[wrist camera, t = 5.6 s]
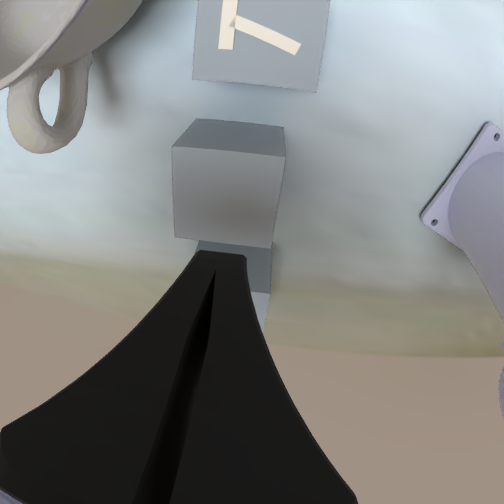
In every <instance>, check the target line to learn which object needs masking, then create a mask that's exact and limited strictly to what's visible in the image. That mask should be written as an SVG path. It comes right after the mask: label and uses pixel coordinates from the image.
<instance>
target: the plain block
mask: <svg viewBox="0 0 504 504" xmlns="http://www.w3.org/2000/svg"><path fill="white" fill-rule="evenodd" d="M285 159H286V155H285V143H284V132H283V127H278V126H271V125H263V124H254V123H245V122H235V121H224V120H211V119H196V120H195V121H194V122H193V123H192V124H191V125H190V126H189V127H188V129H187V130H186V131H185V132H184V133H183V134H182V135H181V137H180V138H179V139H178V140H177V141H176V142H175V144H174V145H173V146H172V182H173V212H174V233H175V237H176V238H185V239H193V240H202V241H210V242H219V243H227V244H235V245H244V246H252V247H260V248H269V249H270V248H271V243H272V237H273V231H274V225H275V219H276V213H277V207H278V201H279V195H280V189H281V183H282V177H283V171H284V165H285Z"/></svg>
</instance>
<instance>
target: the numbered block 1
mask: <svg viewBox="0 0 504 504" xmlns="http://www.w3.org/2000/svg"><path fill="white" fill-rule="evenodd" d="M199 250H208V251H216V252H225V253H233V254H242V255H244V256H245V257H246V258H247V274H248V281H249V286H250V291H251V295H252V300H253V303H254V307H255V310H256V314H257V317H258V321H259V324H260V327H261V330H262V333H263V330H264V325H265V320H266V315H267V310H268V305H269V300H270V295H271V269H272V243H271V248H270V249H269V248H260V247H252V246H244V245H235V244H227V243H219V242H210V241H202V240H199V243H198V246H197V249H196V252H197V251H199ZM196 252H195V253H196Z"/></svg>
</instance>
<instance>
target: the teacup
mask: <svg viewBox="0 0 504 504" xmlns="http://www.w3.org/2000/svg"><path fill="white" fill-rule="evenodd" d="M142 1H143V0H0V90H2V89H4V88H6V87H9V94H8V98H7V118H8V123H9V128H10V130H11V133H12V135H13V137H14V138H15V140H16V141H17V143H18V144H19V145H20V146H22V147H23V148H24V149H26V150H27V151H30V152H32V153H39V154H43V153H51V152H53V151H56V150H58V149H60V148H62V147H64V146H66V145H67V144H68V143H69V142H70V141H71V140H72V139H73V138H75V137H76V135H77V133H78V131H79V130H80V128H81V126H82V123H83V120H84V115H85V111H86V106H87V93H88V70H89V68H90V66H91V64H92V52H93V51H94V50H95V49H97V48H98V47H99V46H101V45H102V44H103V43H105V42H106V41H107V40H109V39H110V38H111V37H112V36H113V35H114V34H115V33H116V32H117V31H119V30H120V29H121V28H122V27H123V26H124V25H125V24H126V23H127V21H128V20H129V19H130V18H131V17H132V16H133V14H134V13H135V12H136V10H137V9H138V7H139V6H140V4H141V3H142ZM58 68H59V70H60V99H59V106H58V112H57V116H56V120H55V123H54V125H53V127H52V126H50V125H48V124H47V123H46V121H45V120H44V119H43V116H42V114H41V111H40V106H39V92H40V88H41V87H42V85H43V83H44V82H45V81H46V80H47V79H48V78H49V77H50V76H51V75H52V74H53V72H54V70H55V69H58Z"/></svg>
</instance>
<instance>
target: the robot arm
mask: <svg viewBox="0 0 504 504" xmlns="http://www.w3.org/2000/svg"><path fill="white" fill-rule="evenodd" d="M495 134H496V138H494V135H495ZM434 219H436V220H435V221H434V222H432V220H434ZM421 221H422V222H423V224H424V225H426V226H427V227H429V228H430V229H432V230H433V231H435V232H436V233H438V234H439V235H441V236H442V237H444V238H445V239H447V240H448V241H450V242H451V243H453V244H454V245H456V246H457V247H458V248H460V249H461V250H463V251H464V252H465V254H466V256H467V257H468V259H469V260H470V262H471V264H472V265H473V267H474V269H475V270H476V272H477V274H478V275H479V277H480V279H481V281H482V282H483V284H484V286H485V288H486V290H487V291H488V293H489V295H490V297H491V299H492V301H493V303H494V305H495V306H496V308H497V310H498V312H499V314H500V316H501V318H502V320H503V322H504V134H503V133H502V132H501V131H500V130H499V128H498V127H497V126H496V125H494V124H493V123H490V122H489V123H487V124H486V125H485V126H484V128H483V129H482V131H481V132H480V134H479V135H478V137H477V138H476V140H475V141H474V143H473V144H472V146H471V147H470V149H469V150H468V152H467V153H466V155H465V156H464V158H463V159H462V160H461V162H460V163H459V165H458V166H457V167H456V169H455V170H454V172H453V173H452V174H451V176H450V177H449V179H448V180H447V181H446V183H445V184H444V185H443V187H442V188H441V189H440V191H439V192H438V193H437V195H436V196H435V197H434V199H433V200H432V201H431V203H430V204H429V205H428V206H427V208H426V209H425V210H424V212H423V213H422V215H421ZM431 222H432V223H431ZM502 347H503V350H504V342H503V343H502ZM499 402H500V408H501V411H502V416H503V418H504V368H503V370H502V372H501V375H500V380H499ZM0 504H358V502H357V498H356V496H355V494H354V492H353V491H352V490H351V489H350V487H349V486H348V485H347V484H346V482H345V481H344V480H343V479H342V477H341V476H340V475H339V473H338V472H337V471H336V469H335V468H334V466H333V465H332V464H331V462H330V461H329V460H328V458H327V457H326V455H325V454H324V452H323V451H322V449H321V448H320V446H319V445H318V443H317V442H316V440H315V439H314V437H313V436H312V434H311V432H310V431H309V429H308V427H307V425H306V424H305V422H304V420H303V419H302V417H301V415H300V413H299V412H298V410H297V408H296V407H295V405H294V403H293V401H292V399H291V397H290V395H289V393H288V391H287V389H286V387H285V385H284V383H283V381H282V379H281V377H280V375H279V373H278V371H277V368H276V366H275V364H274V361H273V359H272V357H271V355H270V352H269V349H268V347H267V344H266V341H265V338H264V336H263V333H262V330H261V327H260V324H259V321H258V317H257V314H256V310H255V307H254V303H253V300H252V295H251V291H250V286H249V281H248V274H247V258H246V257H245V256H244V255H242V254H233V253H225V252H216V251H208V250H199V251H197V252H196V253H195V255H194V256H193V258H192V259H191V261H190V262H189V263H188V265H187V266H186V268H185V269H184V270H183V272H182V273H181V274H180V276H179V277H178V278H177V279H176V281H175V282H174V283H173V284H172V286H171V287H170V288H169V289H168V291H167V292H166V293H165V294H164V295H163V297H162V298H161V299H160V300H159V301H158V303H157V304H156V305H155V306H154V307H153V308H152V309H151V310H150V311H149V313H148V314H147V315H146V316H145V317H144V318H143V319H142V320H141V321H140V322H139V323H138V325H137V326H136V327H135V328H134V329H133V330H132V331H131V332H130V333H129V334H128V335H127V336H126V337H125V338H124V339H123V340H122V341H121V342H120V343H118V345H116V346H115V347H114V348H113V349H112V350H111V351H110V352H109V353H108V354H107V355H105V356H104V357H103V358H102V359H101V360H100V361H99V362H97V363H96V364H95V365H94V366H93V367H91V368H90V369H89V370H88V371H87V372H85V373H84V374H83V375H82V376H80V377H79V378H78V379H77V380H75V381H74V382H73V383H71V384H70V385H68V386H67V387H66V388H64V389H63V390H61V391H60V392H59V393H57V394H56V395H55V396H53V397H52V398H50V399H49V400H48V401H46V402H44V403H43V404H42V405H40V406H38V407H37V408H35V409H33V410H32V411H30V412H28V413H27V414H25V415H23V416H22V417H20V418H18V419H16V420H15V421H13V422H11V423H10V424H8V425H6V426H4V427H3V428H2V430H1V432H0Z"/></svg>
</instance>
